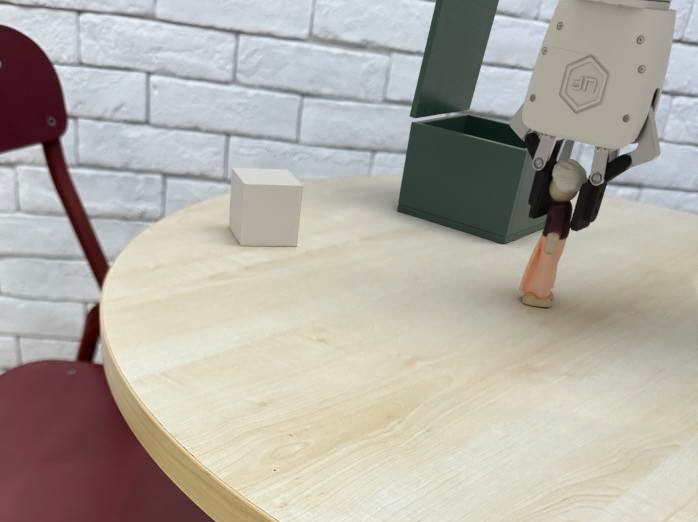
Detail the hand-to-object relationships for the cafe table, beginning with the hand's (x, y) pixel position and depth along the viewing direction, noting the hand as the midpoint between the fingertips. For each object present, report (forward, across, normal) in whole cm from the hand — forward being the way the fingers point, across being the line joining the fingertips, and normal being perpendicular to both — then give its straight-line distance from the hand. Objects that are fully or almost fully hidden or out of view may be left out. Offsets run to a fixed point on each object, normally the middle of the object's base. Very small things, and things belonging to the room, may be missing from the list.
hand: (559, 220), depth 77 cm
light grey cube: (+8, -28, -8) cm, 30 cm away
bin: (+8, -18, +20) cm, 28 cm away
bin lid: (-10, -24, +20) cm, 33 cm away
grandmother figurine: (+8, 0, 0) cm, 8 cm away
